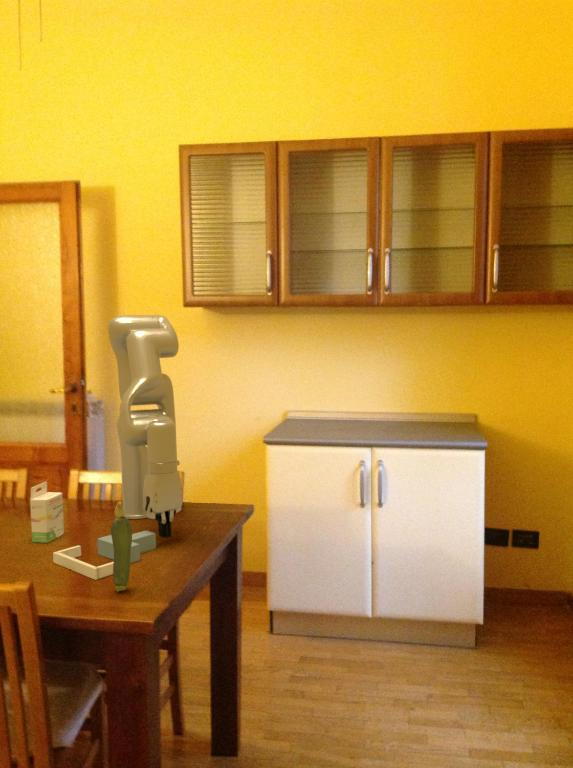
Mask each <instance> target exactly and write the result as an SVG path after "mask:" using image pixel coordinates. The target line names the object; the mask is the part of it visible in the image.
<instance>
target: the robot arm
mask: <svg viewBox="0 0 573 768" xmlns="http://www.w3.org/2000/svg"><path fill="white" fill-rule="evenodd" d="M107 333H108V339H109V342H110V343H109V344H110V346H111V348H112V351H113V354H114V356H115V359H116V363H117V377H118V378H117V380H118V391H119V397H120V401H121V402H120V405H119V415H118V417H117V419H116V431H117V436H118V441H119V446H120V447H119V448H120V462H121V463H120V467H121V488H122V489H121V492H122V494H121V495H122V505H123V510H124V517H126V518H127V519H128V520H141V519H142V520H143V519H146V518H147V519H151V520H155V521H156V522H157V525H158V526H157V527H158V536H159V537H160V538H162V539H163V538H164V539H168V538H171V537H172V522H173V521H174V517H175V515H176V514H177V513H178V512H180V511H181V510H183V509H182V506H183V500H184V499H183V498H184V497H183V496H184V495H183V485H182V480H181V479H182V478H181V474H180V471H179V470H178V466H180V463H181V462H180V460H178V453H177V425H176V423H177V422H176V409H175V408H176V407H175V397H174V396H175V395H174V386H173V381H172V379H171V378H170V376H169V375H168V374H165V373H163V372H162V366H161V359H162V358H163V359H165V358H166V359H168V358H174V357H176V356H177V355H178V353H179V348H180V347H179V339H178V336H177V335H178V334H177V333H176V330H175V329H174V327H173V325H172V324H171V322H170V321H169V319H168V318H167V317H166V316H164V315H161V314H126V315H125V314H124V315H118V316H114V317H112V318H111V319H110V321H108V326H107ZM151 405H155V406H156V407H157V408H151V409H135V410H134V409H133V410H131V407H134V406H136V407H137V406H138V407H139V406H151Z"/></svg>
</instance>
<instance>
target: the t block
mask: <svg viewBox="0 0 573 768" xmlns="http://www.w3.org/2000/svg"><path fill="white" fill-rule="evenodd" d="M96 542H97V555H99V556H103V557H105V558H108V559H109V560H113V561H114V547H113V541H112V536H111V534H108V535H105V536H101V537H98V538H97V541H96ZM155 549H157V533H155V532H153V531H149V530H147V529H145V530H143V531H139V532H135V533H132V544H131V552H130V564H133V563H135V562H138V561H141V554H143V553H146V552H149V551H153V550H155Z"/></svg>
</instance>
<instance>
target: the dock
mask: <svg viewBox="0 0 573 768" xmlns="http://www.w3.org/2000/svg"><path fill="white" fill-rule="evenodd" d="M52 556H53V559H52V560H53V563H54V564H55V565H56V564H57V565H59V566H61V567H63V568H66V569H68V570H70V569H71V571H73V572H75V573H78V574H81V575H83V576H85V577H87V578H91V579H92V580H95V581H97V580H99V579H102V578H106V577H109V576H113V563H114V561H111V562H108V563H105V564H101V565H99V566H95V565H92V564H90V563H87V562H86V561H82V560H80V559H77V558H78V557H81V556H82V546H81V545H75V546H70V547H68V548H64V549H62V550H61V549H60V550H58V551H53V552H52Z"/></svg>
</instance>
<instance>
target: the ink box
mask: <svg viewBox="0 0 573 768" xmlns="http://www.w3.org/2000/svg"><path fill="white" fill-rule="evenodd" d="M38 489H40V490H38ZM37 490H38V491H37ZM29 505H30V523H31V542H32V543H44V544H45V543H46V544H47V543H50V542H52V541H53V540H54V541H55V540H56V539H57V538H59V537H61V536H62V535H65V533H64V531H65V530H64V529H65V528H64V526H65V525H64V508H63V507H64V503H63V492H57V491H56V492H52V491H48V482H47V481H44V482H42V483H39V484H37V485H35V486H32V487H30V503H29Z"/></svg>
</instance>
